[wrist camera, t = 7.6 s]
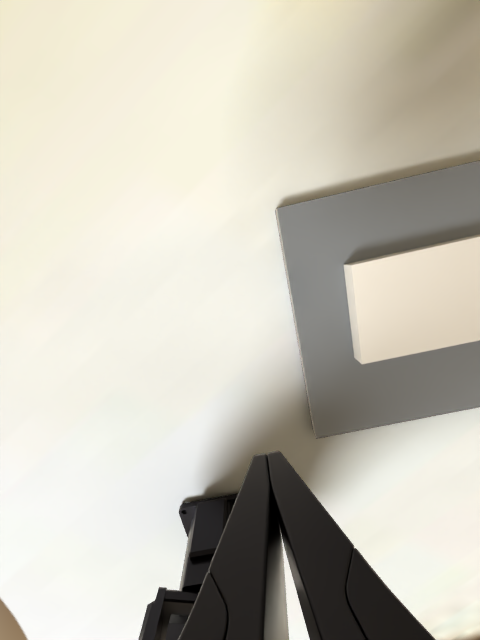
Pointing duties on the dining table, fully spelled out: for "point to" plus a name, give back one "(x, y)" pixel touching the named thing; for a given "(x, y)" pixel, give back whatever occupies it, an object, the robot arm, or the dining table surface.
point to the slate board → (332, 304)
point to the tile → (415, 300)
